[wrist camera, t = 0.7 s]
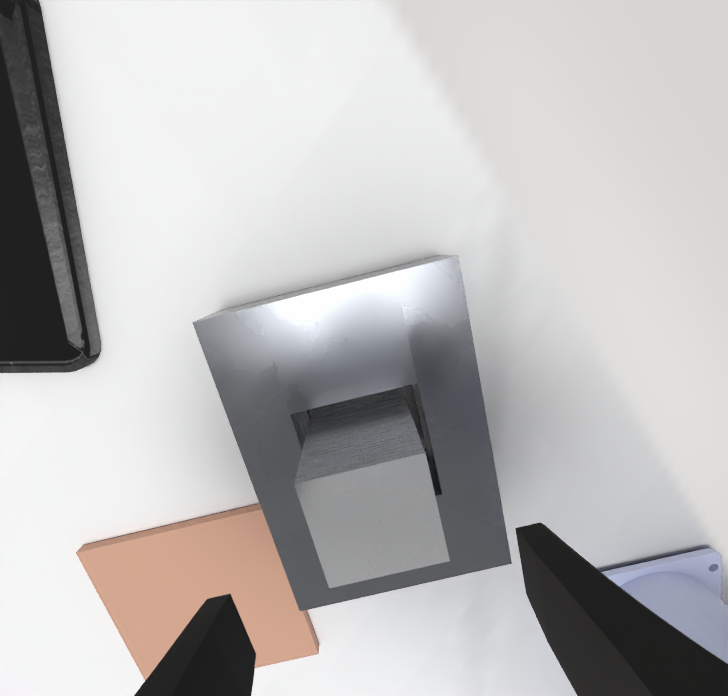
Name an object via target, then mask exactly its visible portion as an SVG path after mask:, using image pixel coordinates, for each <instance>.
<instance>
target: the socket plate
mask: <svg viewBox="0 0 728 696" xmlns="http://www.w3.org/2000/svg"><path fill="white" fill-rule="evenodd" d="M193 325H194V328H195V330H196V333H197V336H198V338H199V341H200V344H201V346H202V349H203V352H204V354H205V357H206V360H207V363H208V365H209V368H210V371H211V373H212V376H213V379H214V381H215V384H216V387H217V390H218V392H219V395H220V398H221V400H222V403H223V406H224V408H225V411H226V414H227V417H228V419H229V422H230V425H231V427H232V430H233V433H234V435H235V438H236V441H237V444H238V446H239V449H240V452H241V454H242V457H243V460H244V462H245V465H246V468H247V471H248V473H249V476H250V479H251V481H252V484H253V487H254V489H255V492H256V495H257V497H258V500H259V503H260V506H261V508H262V511H263V514H264V516H265V519H266V522H267V524H268V527H269V530H270V533H271V535H272V538H273V541H274V543H275V546H276V549H277V551H278V554H279V557H280V560H281V562H282V565H283V568H284V570H285V573H286V576H287V578H288V581H289V584H290V587H291V589H292V592H293V595H294V597H295V600H296V603H297V605H298V608H299V611H304V610H308V609H312V608H317V607H321V606H326V605H330V604H334V603H339V602H343V601H348V600H352V599H357V598H361V597H365V596H370V595H374V594H379V593H383V592H387V591H392V590H396V589H401V588H405V587H410V586H414V585H418V584H423V583H427V582H432V581H436V580H441V579H445V578H449V577H454V576H458V575H463V574H467V573H471V572H476V571H480V570H485V569H489V568H494V567H498V566H502V565H507V564H511V563H512V562H511V557H510V551H509V545H508V539H507V534H506V528H505V522H504V516H503V511H502V505H501V499H500V493H499V488H498V482H497V476H496V470H495V465H494V459H493V453H492V447H491V442H490V436H489V430H488V424H487V419H486V413H485V407H484V401H483V396H482V390H481V384H480V378H479V373H478V367H477V361H476V355H475V350H474V344H473V338H472V332H471V327H470V321H469V315H468V309H467V303H466V298H465V292H464V286H463V280H462V275H461V269H460V263H459V257H458V256H446V255H438V256H434V257H430V258H426V259H422V260H418V261H414V262H410V263H406V264H403V265H399V266H395V267H391V268H387V269H383V270H379V271H375V272H371V273H367V274H363V275H359V276H355V277H351V278H347V279H343V280H339V281H335V282H331V283H327V284H323V285H319V286H315V287H311V288H307V289H303V290H299V291H295V292H291V293H287V294H283V295H279V296H275V297H271V298H267V299H263V300H259V301H255V302H251V303H247V304H244V305H240V306H236V307H232V308H228V309H224V310H220V311H218V312H216V313H213V314H211V315H209V316H206V317H204V318H202V319H200V320H197V321H195V322H193ZM408 385H412V387H413V391H414V396H415V400H416V405H417V409H418V414H419V418H420V422H421V427H422V431H423V436H424V440H425V445H426V449H427V454H428V457H427V462H428V466H429V470H430V475H431V479H432V484H433V488H434V493H435V497H436V501H437V506H438V510H439V515H440V519H441V524H442V528H443V532H444V537H445V541H446V546H447V550H448V555H449V559H450V561H448V562H444V563H439V564H435V565H430V566H426V567H422V568H417V569H413V570H408V571H404V572H400V573H395V574H391V575H386V576H382V577H378V578H373V579H369V580H364V581H360V582H356V583H351V584H347V585H342V586H338V587H334V588H329V586H328V583H327V580H326V577H325V575H324V572H323V569H322V566H321V563H320V560H319V557H318V554H317V551H316V548H315V545H314V542H313V539H312V536H311V533H310V530H309V527H308V524H307V521H306V518H305V515H304V512H303V509H302V506H301V503H300V501H299V498H298V495H297V492H296V489H295V486H294V482H295V478H296V474H297V470H298V466H299V462H300V458H301V453H302V449H303V445H304V441H305V437H306V433H307V429H308V425H309V421H310V418H309V414H308V411H307V410H309V409H313V408H317V407H321V406H326V405H330V404H334V403H338V402H342V401H346V400H350V399H355V398H359V397H363V396H367V395H371V394H375V393H379V392H383V391H388V390H392V389H396V388H400V387H404V386H408Z"/></svg>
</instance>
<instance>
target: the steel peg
mask: <svg viewBox="0 0 728 696" xmlns="http://www.w3.org/2000/svg"><path fill="white" fill-rule="evenodd" d="M294 486H295V489H296V492H297V495H298V498H299V501H300V503H301V506H302V509H303V512H304V515H305V518H306V521H307V524H308V527H309V530H310V533H311V536H312V539H313V542H314V545H315V548H316V551H317V554H318V557H319V560H320V563H321V566H322V569H323V572H324V575H325V577H326V580H327V583H328V586H329V588H334V587H338V586H342V585H347V584H351V583H356V582H360V581H364V580H369V579H373V578H378V577H382V576H386V575H391V574H395V573H400V572H404V571H408V570H413V569H417V568H422V567H426V566H430V565H435V564H439V563H444V562H448V561H450V559H449V555H448V550H447V546H446V541H445V537H444V532H443V528H442V524H441V519H440V515H439V510H438V506H437V501H436V497H435V493H434V488H433V484H432V479H431V475H430V470H429V466H428V462H427V457H426V453H425V450H424V447H423V445H422V442H421V439H420V437H419V434H418V431H417V429H416V426H415V423H414V420H413V418H412V415H411V412H410V410H409V407H408V404H407V401H406V399H405V396H404V393H403V391H402V388H401V387H400V388H396V389H392V390H388V391H383V392H379V393H375V394H371V395H367V396H363V397H359V398H355V399H350V400H346V401H342V402H338V403H334V404H330V405H326V406H321V407H317V408H313V409H312V413H311V417H310V421H309V425H308V429H307V433H306V437H305V441H304V445H303V449H302V453H301V458H300V462H299V466H298V470H297V474H296V478H295V482H294Z"/></svg>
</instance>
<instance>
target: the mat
mask: <svg viewBox="0 0 728 696" xmlns="http://www.w3.org/2000/svg"><path fill="white" fill-rule="evenodd" d="M76 554H77V556H78V557H79V559H80V561H81V563H82V565H83V567H84V569H85V570H86V572H87V574H88V576H89V578H90V580H91V581H92V583H93V585H94V587H95V589H96V591H97V593H98V594H99V596H100V598H101V600H102V602H103V604H104V605H105V607H106V609H107V611H108V613H109V615H110V616H111V618H112V620H113V622H114V624H115V626H116V628H117V629H118V631H119V633H120V635H121V637H122V639H123V640H124V642H125V644H126V646H127V648H128V650H129V652H130V653H131V655H132V657H133V659H134V661H135V663H136V664H137V666H138V668H139V670H140V672H141V674H142V676H143V677H144V679H145V681H146V679H147V678H148V677H149V675H150V674H151V673H152V671H153V670H154V669H155V667H156V666H157V665H158V664H159V662H160V661H161V660H162V658H163V657H164V655H165V654H166V653H167V651H168V650H169V649H170V647H171V646H172V645H173V643H174V642H175V641H176V639H177V638H178V637H179V635H180V634H181V633H182V631H183V630H184V628H185V627H186V626H187V624H188V623H189V622H190V620H191V619H192V618H193V616H194V615H195V614H196V612H197V611H198V610H199V608H200V607H201V606H202V605H203V603H204V602H205V601H206V600H207V599H209V598H213V597H217V596H222V595H226V594H231V596H232V598H233V601H234V603H235V605H236V608H237V610H238V613H239V615H240V617H241V620H242V622H243V624H244V627H245V629H246V631H247V634H248V636H249V638H250V641H251V643H252V645H253V648H254V650H255V652H256V660H255V668H257V667H262V666H266V665H271V664H275V663H280V662H284V661H289V660H293V659H298V658H302V657H307V656H311V655H316V654H318V652H319V643H318V641H317V638H316V635H315V632H314V630H313V627H312V624H311V621H310V619H309V616H308V613H307V610H304V611H299V608H298V605H297V603H296V600H295V597H294V595H293V592H292V589H291V587H290V584H289V581H288V578H287V576H286V573H285V570H284V568H283V565H282V562H281V560H280V557H279V554H278V551H277V549H276V546H275V543H274V541H273V538H272V535H271V533H270V530H269V527H268V524H267V522H266V519H265V516H264V514H263V511H262V508H261V506H260V504H256V505H252V506H248V507H243V508H239V509H235V510H231V511H226V512H222V513H218V514H214V515H209V516H205V517H201V518H197V519H192V520H188V521H184V522H180V523H175V524H171V525H167V526H163V527H158V528H154V529H150V530H146V531H141V532H137V533H133V534H129V535H124V536H120V537H116V538H112V539H107V540H103V541H99V542H95V543H91V544H86V545H83V546H82V547H81V548H80V549H79V550H78V551H77V552H76Z"/></svg>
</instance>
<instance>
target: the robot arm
mask: <svg viewBox="0 0 728 696" xmlns="http://www.w3.org/2000/svg"><path fill="white" fill-rule="evenodd" d="M516 534H517V540H518V546H519V552H520V558H521V564H522V570H523V576H524V582H525V588H526V594H527V596H528V598H529V601H530V603H531V605H532V608H533V610H534V612H535V614H536V617H537V619H538V621H539V623H540V625H541V628H542V630H543V632H544V634H545V636H546V639H547V641H548V643H549V645H550V647H551V649H552V650H553V652H554V654H555V656H556V658H557V659H558V661H559V663H560V665H561V667H562V668H563V670H564V672H565V674H566V676H567V677H568V679H569V681H570V683H571V685H572V686H573V688H574V690H575V692H576V694H577V695H578V696H728V606H727V605H726V604H725V603H724V602H723V601H722V600H721V587H722V557H721V555H720V554H719V553H718V552H717V551H716V550H714V549H712V548H706V549H701V550H697V551H693V552H688V553H684V554H679V555H675V556H670V557H666V558H661V559H657V560H652V561H648V562H643V563H639V564H634V565H630V566H626V567H621V568H617V569H612V570H608V571H603V572H600V571H599V570H598V569H596V568H595V567H594V566H593V565H591V564H590V563H589V562H588V561H587V560H585V559H584V558H583V557H582V556H580V555H579V554H578V553H577V552H576V551H574V550H573V549H572V548H571V547H570V546H568V545H567V544H566V543H565V542H564V541H563V540H561V539H560V538H559V537H558V536H557V535H556V534H554V533H553V532H552V531H551V530H550V529H549V528H547V527H546V526H545V525H543V524H542V523H536V524H532V525H528V526H523V527H519V528H516ZM255 660H256V652H255V650H254V648H253V645H252V643H251V641H250V638H249V636H248V634H247V631H246V629H245V627H244V624H243V622H242V620H241V617H240V615H239V613H238V610H237V608H236V605H235V603H234V601H233V598H232V596H231V594H226V595H222V596H217V597H213V598H209V599H207V600H206V601H205V602H204V603H203V605H202V606H201V607H200V608H199V610H198V611H197V612H196V614H195V615H194V616H193V618H192V619H191V620H190V622H189V623H188V624H187V626H186V627H185V628H184V630H183V631H182V633H181V634H180V635H179V637H178V638H177V639H176V641H175V642H174V643H173V645H172V646H171V647H170V649H169V650H168V651H167V653H166V654H165V655H164V657H163V658H162V660H161V661H160V662H159V664H158V665H157V666H156V667H155V669H154V670H153V671H152V673H151V674H150V675H149V677H148V678H147V679H146V681H145V682H144V683H143V685H142V686H141V687H140V689H139V690H138V691H137V693H136V694H135V695H134V696H251V692H252V685H253V677H254V668H255Z"/></svg>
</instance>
